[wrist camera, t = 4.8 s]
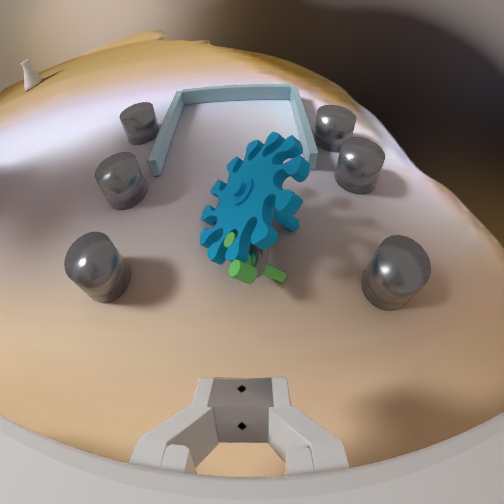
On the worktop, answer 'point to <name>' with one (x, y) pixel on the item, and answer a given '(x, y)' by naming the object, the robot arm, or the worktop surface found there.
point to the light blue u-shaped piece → (232, 94)
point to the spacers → (347, 175)
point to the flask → (30, 75)
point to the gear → (254, 207)
